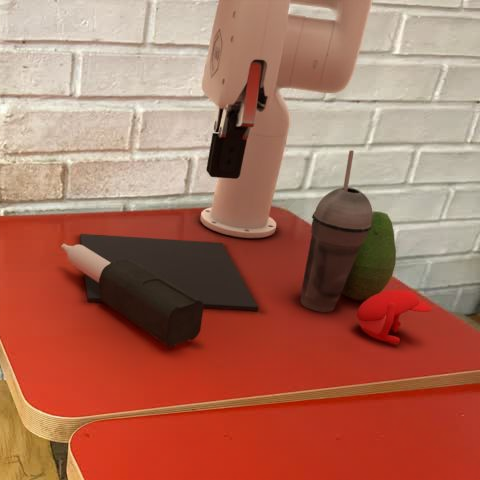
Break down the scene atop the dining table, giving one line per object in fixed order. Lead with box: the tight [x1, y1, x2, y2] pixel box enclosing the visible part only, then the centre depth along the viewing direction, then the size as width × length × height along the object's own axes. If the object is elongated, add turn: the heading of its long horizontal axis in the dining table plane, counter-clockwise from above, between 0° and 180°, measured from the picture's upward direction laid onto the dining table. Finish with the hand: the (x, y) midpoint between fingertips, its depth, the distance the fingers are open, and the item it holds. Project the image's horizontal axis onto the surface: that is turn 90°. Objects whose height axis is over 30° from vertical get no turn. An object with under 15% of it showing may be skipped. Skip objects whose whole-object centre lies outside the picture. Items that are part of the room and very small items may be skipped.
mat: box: [79, 233, 259, 312], centre depth 97 cm, size 22×22×1 cm
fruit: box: [341, 210, 397, 301], centre depth 92 cm, size 8×8×12 cm
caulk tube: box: [60, 243, 204, 348], centre depth 85 cm, size 5×5×25 cm
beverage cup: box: [300, 149, 373, 313], centre depth 87 cm, size 7×7×20 cm
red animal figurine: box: [356, 289, 433, 345], centre depth 85 cm, size 8×6×6 cm
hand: (222, 175), depth 72 cm, fingers closed
